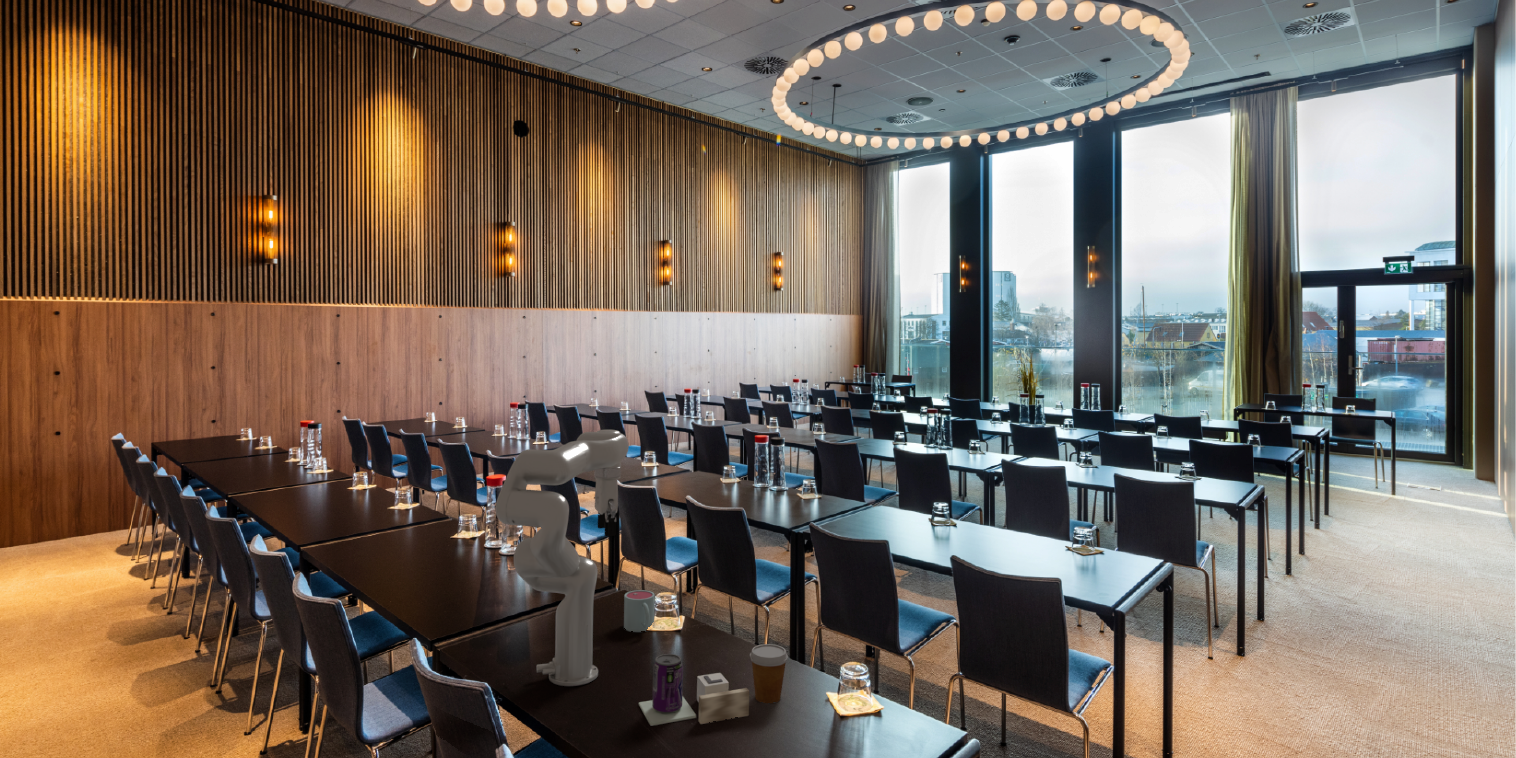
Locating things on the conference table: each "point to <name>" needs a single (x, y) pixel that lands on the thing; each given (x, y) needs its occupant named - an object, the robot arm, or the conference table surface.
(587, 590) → the robot arm
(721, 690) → the letter block
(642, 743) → the conference table surface
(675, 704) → the beverage can
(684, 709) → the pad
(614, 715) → the conference table surface
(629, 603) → the mug
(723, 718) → the birch screen
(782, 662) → the disposable coffee cup
